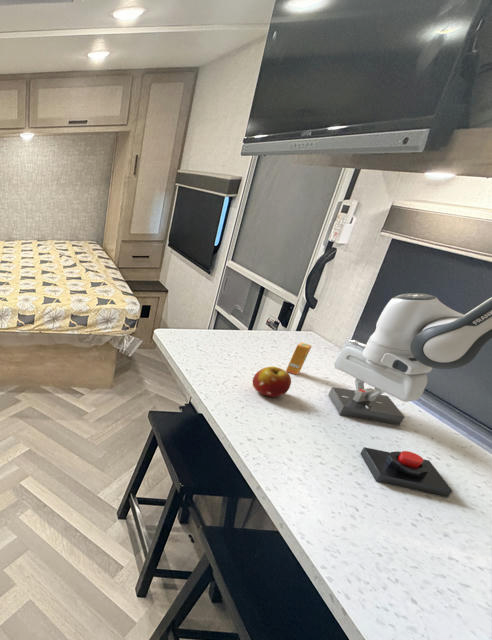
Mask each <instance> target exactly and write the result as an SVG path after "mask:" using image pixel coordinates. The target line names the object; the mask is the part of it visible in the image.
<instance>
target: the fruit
mask: <svg viewBox="0 0 492 640" xmlns="http://www.w3.org/2000/svg"><path fill="white" fill-rule="evenodd" d="M291 384H292V378H291V376H290V373H289V372H287V371H286V370H284V369H282V368H280V367H277V366H266V367H263V368H261V369H259V370H258V371H257V372H256V373H255V374H254V376H253V378H252V386H253V388H254V390H255V391H257V392H258V393H260V394H261V395H263V396H266V397H270V398H277V397H282V396H283V395H285V394H286V393H287V392H288V391H289V390H290V388H291Z"/></svg>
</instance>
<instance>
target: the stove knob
mask: <svg viewBox="0 0 492 640" xmlns="http://www.w3.org/2000/svg"><path fill="white" fill-rule="evenodd" d="M374 392H376V391H374V388H372V387H369V388H364V389H359V390H357V392H356V394H355V396H354V398H353V400H354V401H356V402H363V401H368V400H366V399H365V397H366V395H367V394H368V393H374Z"/></svg>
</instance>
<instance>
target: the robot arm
mask: <svg viewBox="0 0 492 640" xmlns="http://www.w3.org/2000/svg"><path fill="white" fill-rule="evenodd" d="M375 324H376V326H375V327H376V328H375V330H374V332H373V333H372V334H370V336H369V339H368V340H367V342H366V343H363V342H359V341H358V340H356V339H352V340H350V339H349V340H347V341H345V342H344V344H343V346H342V349H341V350H340V352H339V353H338V355H337V356H336V358H335V360H334V362H333V366H334V368H335V369H337V370H339V371H341V372H343V373H344V374H347V375H349V376H351V377H353V378H355V380H354V384H355V394H356V392H357V390H359V389H365V384H367V385H369V386H371V387H373V389H374V391H376V392H374V393H368V394H367V395H366V397H365V399H366V400H368V401H370V402H371V401H375V399H376V397H377V396H379V395H384V394H388V395H389V396H391V397H393V398H395V399H397V400H399V401H402V402H404V403H409V402H414V401H418V400H420V398H421V397H422V395H423V393H424V392H425V389H426V387H427V384H428V380H429V378H428V375H427V374H428V373H430V372H431V371H432V370H433V369H438V370H451V369H457V368H461V367H464V366H466V365H468V364H469V363H470V362H471V363H472V361H473V360H474V359H475V358H476V357H477V355H478V354H479V353H480V351H481V350H482V348H483V347H484V346H485V344H487V342H488V341H490V340H491V339H492V296H491V297H490V298H488V299H486V300H485V301H483V302H482V303H480V304H479V305H478V306H476V307H474V308H473V309H472V310H470V311H468V312H466V313H465V314H463V313H461V312H459V311H456V310H454V309H452V308H451V307H448V306H447V305H445V304H444V303H443V302H441V301H440V300H439V298H438V297H436V296H435V295H432V294H427V293H419V292H418V293H417V292H410V293H402V294H399V295H395V296H394V297H392V298H391V299H390V300H389V301H388V303H386V305H385V306H384V308H383V310H382V312H381V313H380V315H379V317H378V319H377V321H376V323H375Z"/></svg>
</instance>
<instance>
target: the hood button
mask: <svg viewBox="0 0 492 640" xmlns="http://www.w3.org/2000/svg"><path fill="white" fill-rule="evenodd" d="M400 452H401V454H400V455H399V457H398V460H399V461H400V462H401V463H403V464H405V465H407V466H410V467H414V468H419V467H420V465H421V464H422V462H423V459H424V458H423V457H422V456H421V455H419V454H417V453H414V452H412V451H408V450H403V451H400Z"/></svg>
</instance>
